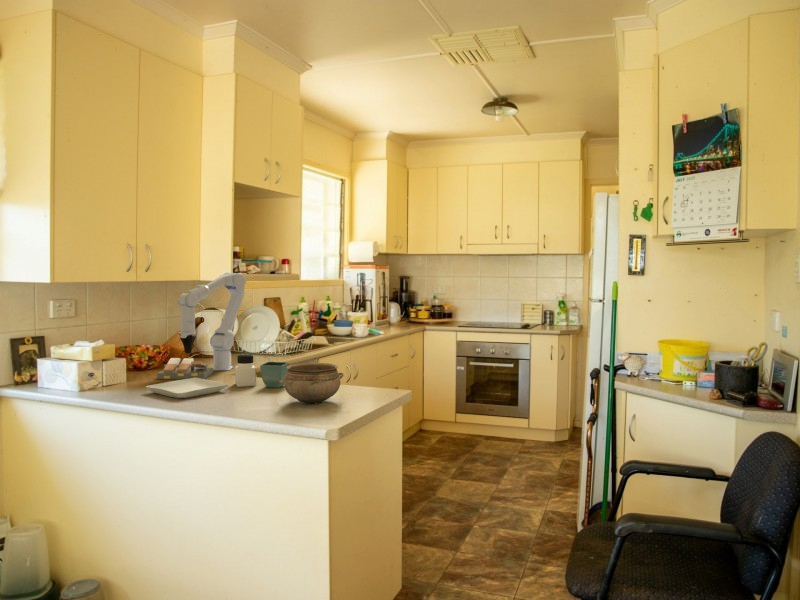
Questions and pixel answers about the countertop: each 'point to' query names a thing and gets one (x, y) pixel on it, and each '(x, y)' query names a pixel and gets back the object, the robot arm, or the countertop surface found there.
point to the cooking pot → (312, 382)
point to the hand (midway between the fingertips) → (188, 353)
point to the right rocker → (198, 364)
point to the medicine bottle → (245, 371)
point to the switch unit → (186, 373)
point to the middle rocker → (185, 365)
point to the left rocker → (172, 365)
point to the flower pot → (274, 373)
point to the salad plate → (187, 387)
